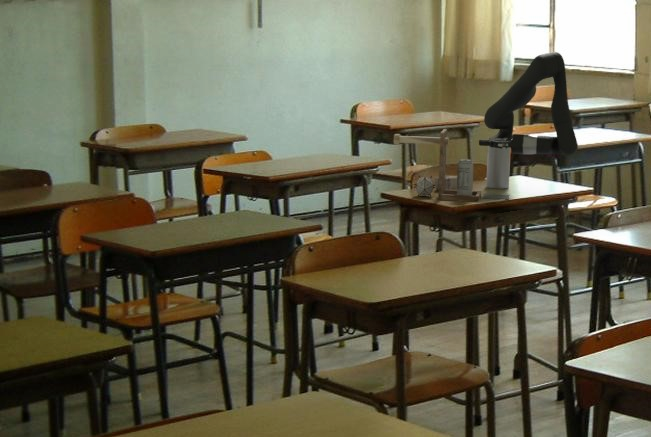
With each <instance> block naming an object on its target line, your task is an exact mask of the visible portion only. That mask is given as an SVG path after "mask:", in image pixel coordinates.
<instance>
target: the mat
mask: <svg viewBox="0 0 651 437" xmlns="http://www.w3.org/2000/svg"><path fill="white" fill-rule="evenodd" d="M509 196H510V194H500V193H498V194H497V193H484V194H483V196H482V200H485V199H486V200H500V199H505V200H504V201H509V200H510V197H509Z"/></svg>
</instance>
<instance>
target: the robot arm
mask: <svg viewBox="0 0 651 437" xmlns="http://www.w3.org/2000/svg"><path fill="white" fill-rule="evenodd" d="M566 73H567V72H566V64H565V60H564V57H563V56H562V54H561V53H560V52H557V51H553V52H552V51H551V52H548V53H543V54H539V55H537V56H535V57H534V58H533V60H532V61H531V62H530V63H529V65H528V67H527V68H526V70H525V71H524V73H522V74H521V76H520V77H519V78H518V79H517V80H516V81H515V82H514V83H513V84H512V85H511V87H510V88H509V89H508V90H507V91H506V92H505V93H504V94H503V95H502V96H501V97H500V98H499V99H498V100H497V101H496V102H494V103H492V105H491V106H489V108H488V109H486V111H485V114H484V117H483V120H484V125H485V126H486V127H487V128H488V129H491V130H499V131H498V132H497V133H496V134H495V135H493V136H491V137H489V138H488V139H479V140H478V145H479V146H481V147H482V146H484V147H487V161H486V162H487V164H486V165H487V166H486V182H485V183H486V184H485V185H486V188H490V189H509V187H510V172H511V170H510V168H511V167H510V166H511V154H513V155H515V154H516V155H562V156H564V155H565V156H572V155H574V154H575V153H576V152H577V151H578V147H579V144H578V141H577V136H576V133H575V130H574V124H573V119H572V114H571V111H570V105H569V100H568V99H569V98H568V89H567V88H568V87H567V86H568V85H567V74H566ZM550 78H553V83H554V84H553V85H554V91H553V98H552V101H551V105H550V116H551V119H552V123H553V127H554V130H555V134H556V136H548V135H535V134H525V133H523V134H521V133H514V123H515V122H514V121H515V115H514V114H515V113H514V112H515V111H517V110H519V109H522V108H524V107H525V106H526V105H527V104H529V102H531V101H532V99H533V98H534V97H535V95H536V92H537V85H538V84H539V83H540V82H541V81H544V80H545V79H550Z"/></svg>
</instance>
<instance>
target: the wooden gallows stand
mask: <svg viewBox="0 0 651 437" xmlns="http://www.w3.org/2000/svg"><path fill="white" fill-rule="evenodd" d="M447 136H448V128H443V130H442V131H440V144H439V163H438V164H439V166H438V167H439V168H438V176H439V191H438V190H437V191H438V196H437V199H438V200H439V201H440V200H441V201H454V202H455V201H458V202H461V201H463V202H476V201H480V200H479V199H481V196H482V191H481V190H472V196H469V195H457V190H445V175H446V172H447V171H446V169H447V168H446V166H447V164H446V163H447V145H444V140H445V138H448V137H447Z"/></svg>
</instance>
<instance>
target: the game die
mask: <svg viewBox="0 0 651 437" xmlns="http://www.w3.org/2000/svg"><path fill="white" fill-rule="evenodd" d="M417 176H418V179H417V181H416V183H414V184H413V185H414V189H415V190H416V192H417V197H420V196H429V197H430V198H432V195H431V194H432V192H433V191H434V189H436V187H435V184H434V182H433V180H432V178H433V175H431V176H429V177H428V176H427V177H424V176H423V177H422V176H420V175H417Z"/></svg>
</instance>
